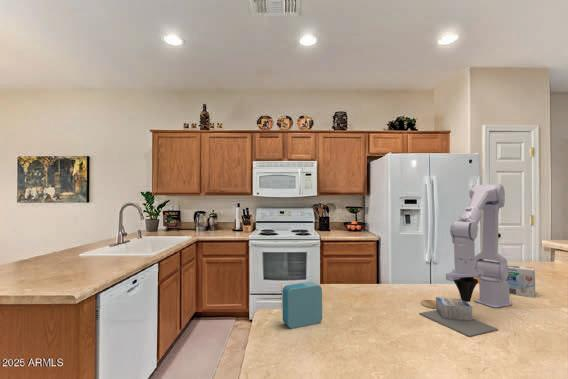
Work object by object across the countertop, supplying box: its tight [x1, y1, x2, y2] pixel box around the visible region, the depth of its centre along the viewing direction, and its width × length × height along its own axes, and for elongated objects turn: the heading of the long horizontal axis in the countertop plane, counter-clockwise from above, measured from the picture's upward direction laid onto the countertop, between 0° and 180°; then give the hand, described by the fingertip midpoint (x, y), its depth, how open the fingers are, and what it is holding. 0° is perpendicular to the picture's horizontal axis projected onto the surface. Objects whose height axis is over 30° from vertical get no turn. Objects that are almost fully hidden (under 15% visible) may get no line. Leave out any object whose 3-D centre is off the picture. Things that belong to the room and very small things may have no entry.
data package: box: [281, 281, 323, 329], centre depth 93 cm, size 12×4×12 cm, turn 114°
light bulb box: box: [505, 264, 536, 299], centre depth 121 cm, size 11×7×11 cm, turn 49°
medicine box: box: [435, 296, 473, 320], centre depth 98 cm, size 8×4×9 cm
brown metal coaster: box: [420, 299, 437, 310], centre depth 108 cm, size 8×8×1 cm
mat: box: [418, 309, 499, 338], centre depth 93 cm, size 12×18×1 cm, turn 21°
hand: (465, 300), depth 95 cm, fingers closed
